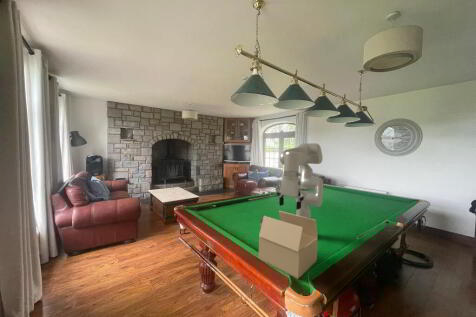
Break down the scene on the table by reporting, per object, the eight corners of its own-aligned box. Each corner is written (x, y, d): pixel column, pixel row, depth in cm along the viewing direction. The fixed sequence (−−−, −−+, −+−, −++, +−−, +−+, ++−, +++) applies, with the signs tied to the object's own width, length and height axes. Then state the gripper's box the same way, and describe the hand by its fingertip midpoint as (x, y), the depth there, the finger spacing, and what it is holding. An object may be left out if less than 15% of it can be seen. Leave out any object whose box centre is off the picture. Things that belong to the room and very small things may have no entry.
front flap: (264, 215, 99) (263, 215, 98) (303, 227, 84) (302, 227, 83) (259, 236, 96) (259, 236, 95) (298, 251, 81) (298, 251, 81)
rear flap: (281, 226, 112) (281, 225, 112) (317, 238, 97) (317, 237, 97) (278, 211, 109) (279, 210, 110) (315, 220, 94) (315, 219, 95)
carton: (280, 246, 112) (281, 226, 112) (316, 260, 97) (317, 238, 97) (258, 259, 96) (259, 236, 96) (297, 279, 81) (299, 252, 81)
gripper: (310, 176, 93) (308, 209, 93) (280, 173, 105) (279, 203, 105) (303, 176, 88) (302, 212, 87) (273, 173, 100) (271, 204, 99)
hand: (289, 207), depth 96 cm, fingers open, 9 cm apart
